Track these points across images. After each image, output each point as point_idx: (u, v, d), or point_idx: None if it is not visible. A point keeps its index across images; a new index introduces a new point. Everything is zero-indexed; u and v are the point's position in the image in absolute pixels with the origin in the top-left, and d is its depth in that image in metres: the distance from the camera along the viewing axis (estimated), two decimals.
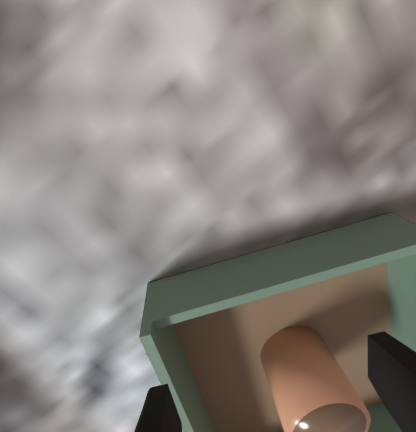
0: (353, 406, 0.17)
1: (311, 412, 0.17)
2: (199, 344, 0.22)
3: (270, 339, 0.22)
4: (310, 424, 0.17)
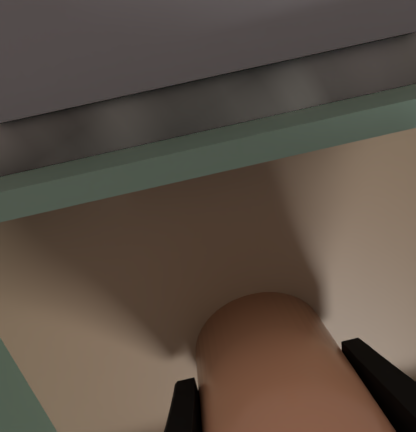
0: None
1: None
2: None
3: None
4: None
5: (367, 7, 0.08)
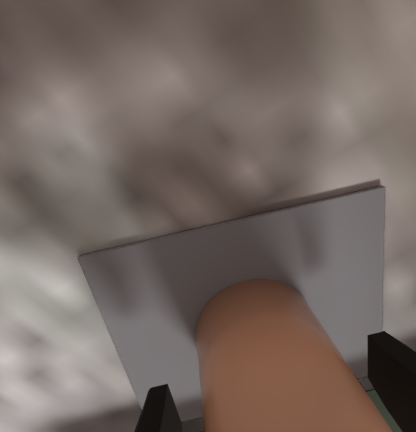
0: None
1: None
2: None
3: None
4: None
5: (352, 368, 0.15)
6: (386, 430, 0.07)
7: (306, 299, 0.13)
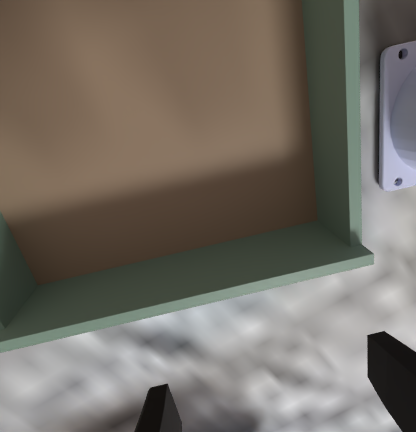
0: None
1: None
2: (119, 246, 0.18)
3: None
4: None
5: None
6: None
7: None
